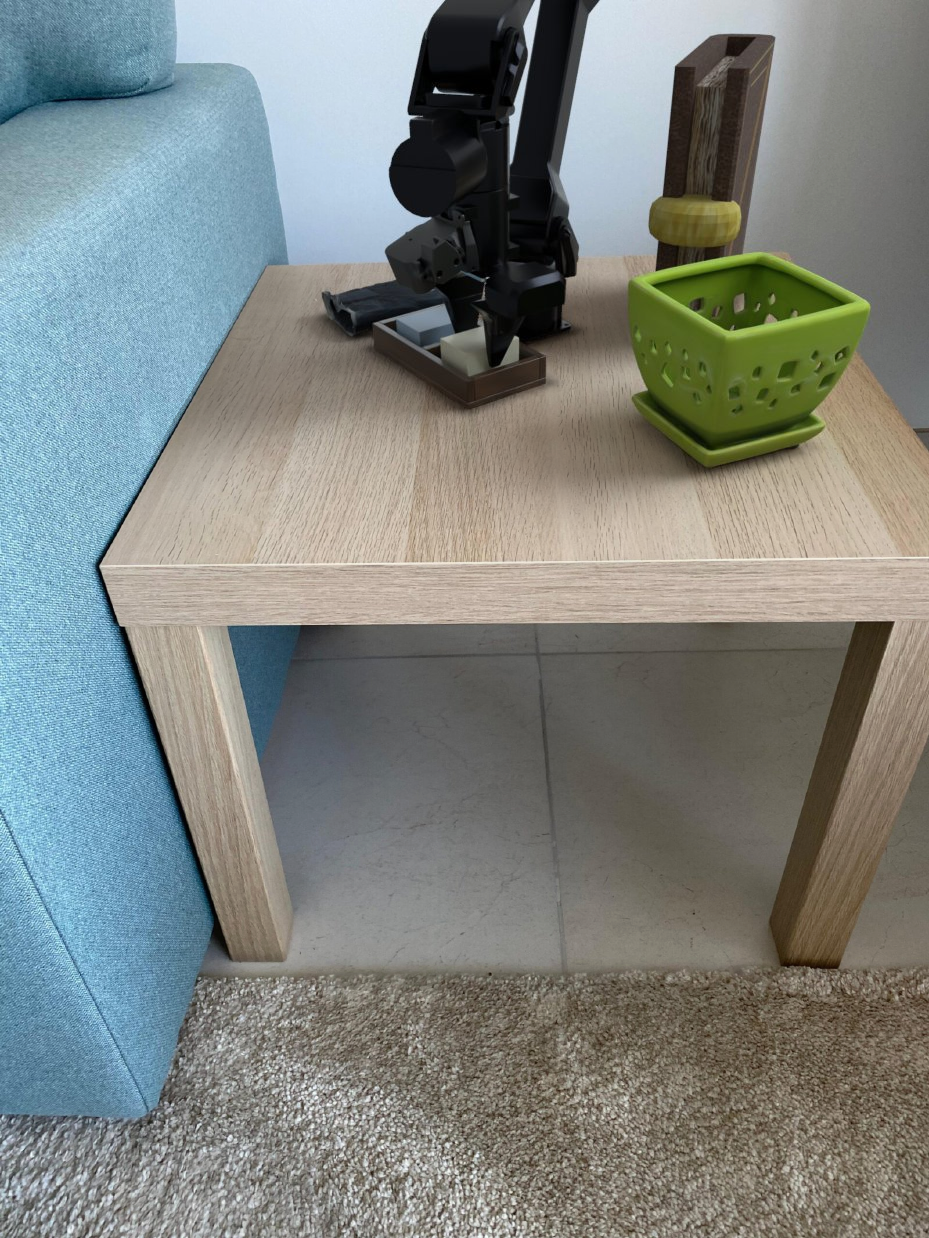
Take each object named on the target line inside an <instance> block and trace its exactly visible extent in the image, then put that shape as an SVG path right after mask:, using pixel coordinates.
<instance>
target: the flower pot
mask: <svg viewBox="0 0 929 1238" xmlns="http://www.w3.org/2000/svg"><path fill="white" fill-rule="evenodd" d="M739 295H743V309H741V310H740V311H737V312H735V306H734V305H735V304H734V303H735V302H734V301H735V298H736V297H737V296H739ZM773 296H774V301H773ZM734 297H735V298H734ZM699 298H701V308H700V310H698V311H695V312H694V311H692V310H690V309H689V307H690V303H691V301H693V300H696V299H699ZM715 307H720V308H719V311H718V314H717V316H716V317H712V313H713V311H714V308H715ZM795 311H796V313H797V316H796V317H794V314H795ZM627 312H628V313H627V314H628V325H629V333H630V340H631V344H632V350H633V354H634V358H635V361H636V365H637V367H638V371H639V373H640V376H641V378H642V381H643V383H644V385H645V387H646V389H647V390H644V391H643V390H642V391H640V392H637V393H634V394H632V395H631V401H632V404H633V406H634V407H635V408H636V410H637V411H638V412H639V413H640V414H641V416H642V417H643V418H644V419H645V420H646V421H647V422H649V423H650V424H651V425H652V426H654V427H655V428H656V429H657V430H659V432H661V433H662V434H663V435H664V436H666V437H667V438H668V439H669V440H670V441H672V442H673V443H674V444H676V445H677V446H678V447H679V448H680V449H681V450H683V451H684V452H686V453H687V454H688V455H689V456H691V457H692V458H693V459H694V460H695V461H696V462H698V463H699V464H700V465H702V466H703V468H709V469H710V468H711V469H712V468H715V467H716V466H722V465H724V464H729V463H733V462H737V461H742V460H746V459H749V458H753V457H756V456H760V455H761V456H762V455H765V454H768V453H771V452H775V451H779V450H783V449H786V448H790V449H796V448H799V446H800V445H801V444H803V443H806V442H807V441H809V440H812V439H813V438H815V437H816V436H818V435H819V434H821V433H822V432H823V431H824V430H825V428H826V427H827V424H826V422H825V421H824V420H822V419H821V418H820V417H819V416H817V415H816V414H814V413H813V412H814V411H815V410H816V409H817V408H818V407H819V406H820V405H821V404H822V403H823V401H824V400H825V399H826V398H827V397H828V396H829V395H830V393H831V392H832V390H833V389H834V388H835V386H836V385H837V383H838V382H839V381H840V379H841V377H842V376H843V374H844V372H846V369H847V368H848V366H849V364H850V362H851V361H852V359H853V356H854V354H855V352H856V350H857V349H858V346H859V343H860V341H861V339H862V336H863V334H864V331H865V328H866V326H867V323H868V320H869V317H870V313H871V304H870V303H869V302H868V301H867V300H866V299H864V298H862V297H861V296H859V295H857V294H855V293H853V292H852V291H850V290H848V289H846V288H844V287H842V286H840V285H838V284H836V283H834V282H832V281H830V280H828V279H826V278H824V277H822V276H820V275H818V274H816V273H814V272H811V271H809V270H807V269H805V268H803V267H801V266H798V265H796V264H795V263H792V262H790V261H787V260H785V259H783V258H780V257H778V256H775V255H773V254H770V253H767V252H762V251H754V252H747V253H743V254H741V255H735V256H729V257H723V258H718V259H713V260H707V261H702V262H697V263H692V264H687V265H682V266H678V267H673V268H668V269H664V270H660V271H656V272H655V271H653V272H652V271H651V272H649V273H645V274H641V275H637V276H635V277H632V278H629V281H628V283H627ZM769 315H770V316H772V317H773V318H774V319H775V320H776V321H774V322H769V323H766V322H767V320H768V317H769ZM732 327H733V329H732ZM731 329H732V330H731ZM841 354H842V356H841ZM840 356H841V357H840ZM818 365H819V366H818Z"/></svg>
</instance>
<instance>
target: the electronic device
mask: <svg viewBox="0 0 929 1238" xmlns="http://www.w3.org/2000/svg"><path fill="white" fill-rule="evenodd" d="M321 299H322V301H323V305H324V307H325V311H326V315H327V317H328V318H329V319H330V320H331V321H332V322H334V323H336V325H338V326H339V327H340V328H341V329H342V330H343V331H344V332H345V333H346V334H347V335H348V336H351V337H353V336H355V335H358V334H360V333H363V332H367V331H373V326H372V324H373V323H376V322H379V321H382V320H386V319H390V318H393V317H397V316H400V315H404V314H408V313H411V312H415V311H419V310H422V309H426V308H429V307H433V306H437V305H441V304H444V302H443V300H442V297H441V295H440V294H439V293H438V292H437V291H436V290H435V289H433V290H431V291H430V292H428V293H426V294H421V295H419V294H416V293H414V292H413V291H412V290H411V289H409V288H407V287H405V286H401V285H399V284H398V283H397V280H396V279H393V280H389V281H384V282H376V283H374V284H371V285H367V286H363V287H360V288H358V287H357V288H353V289H350V290H347V291H343V292H340V293H335V294H332V293H331V291H329V290H326V291H321Z"/></svg>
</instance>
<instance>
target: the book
mask: <svg viewBox="0 0 929 1238" xmlns="http://www.w3.org/2000/svg"><path fill="white" fill-rule="evenodd" d="M775 43H776V36H774V35H773V34H764V33H763V34H761V33H717V34H713V35H709V37H707V38H706V39H704V40H703V42H701V43H700V44H699V45H697V46H696V47H695V48H694V49H693V50H692V51H691V52H689V53H688V54H687V55H686V56H685V57H684V58H683V59H682V60H680V61H679V62H677V64H675V66H674V73H673V82H672V92H671V93H672V94H671V103H670V112H669V113H670V115H669V124H668V126H669V127H668V134H667V145H666V154H665V155H666V157H665V164H664V176H663V185H662V195H661V196H659V197H657V199H655V200H654V201H652V203H651V205H650V207H649V211H648V212H649V213H648V222H647V223H648V224H647V225H648V232H649V234H650V235H651V236H652V237H653V238H654V239H655V240H656V241H657V249H656V260H655V271H654V272H656V271H660V270H664V269H668V268H673V267H678V266H682V265H687V264H692V263H697V262H702V261H707V260H713V259H718V258H723V257H729V256H735V255H741V254H744V248H745V240H746V234H747V226H748V220H749V214H750V207H751V201H752V195H753V194H752V193H753V187H754V182H755V174H756V168H757V162H758V161H757V160H758V156H759V148H760V142H761V135H762V130H763V129H762V128H763V123H764V116H765V109H766V102H767V96H768V90H769V83H770V76H771V70H772V64H773V57H774V49H775V45H776V44H775ZM735 298H736V297H734V299H735ZM700 308H701V298H699V299H696V300H693V301H691V303H690V307H689V309H690V310H692V311H694V312H695V311H698V310H700ZM719 308H720V307H715V308H714V311H713V313H712V317H716V316H717V314H718V311H719Z"/></svg>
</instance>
